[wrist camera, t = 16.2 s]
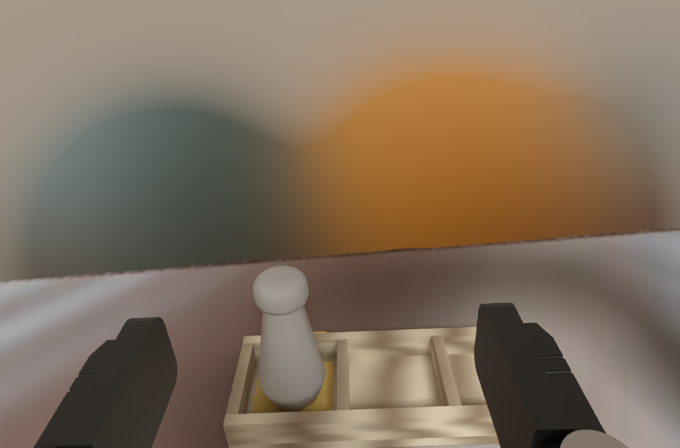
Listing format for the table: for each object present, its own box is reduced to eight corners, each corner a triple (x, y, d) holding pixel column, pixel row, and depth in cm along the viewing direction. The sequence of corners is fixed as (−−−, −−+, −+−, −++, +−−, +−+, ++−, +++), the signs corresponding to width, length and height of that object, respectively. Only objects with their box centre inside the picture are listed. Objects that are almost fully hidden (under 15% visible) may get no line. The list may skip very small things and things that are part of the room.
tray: (527, 348, 48) (532, 321, 46) (571, 440, 39) (580, 411, 37) (250, 359, 48) (244, 333, 46) (230, 453, 39) (222, 425, 37)
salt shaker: (249, 406, 42) (224, 288, 35) (283, 361, 46) (266, 249, 40) (307, 429, 39) (292, 307, 33) (337, 379, 44) (329, 263, 37)
